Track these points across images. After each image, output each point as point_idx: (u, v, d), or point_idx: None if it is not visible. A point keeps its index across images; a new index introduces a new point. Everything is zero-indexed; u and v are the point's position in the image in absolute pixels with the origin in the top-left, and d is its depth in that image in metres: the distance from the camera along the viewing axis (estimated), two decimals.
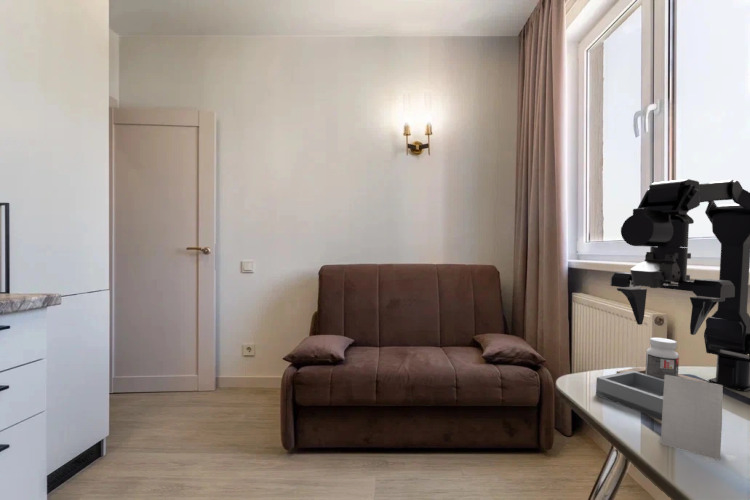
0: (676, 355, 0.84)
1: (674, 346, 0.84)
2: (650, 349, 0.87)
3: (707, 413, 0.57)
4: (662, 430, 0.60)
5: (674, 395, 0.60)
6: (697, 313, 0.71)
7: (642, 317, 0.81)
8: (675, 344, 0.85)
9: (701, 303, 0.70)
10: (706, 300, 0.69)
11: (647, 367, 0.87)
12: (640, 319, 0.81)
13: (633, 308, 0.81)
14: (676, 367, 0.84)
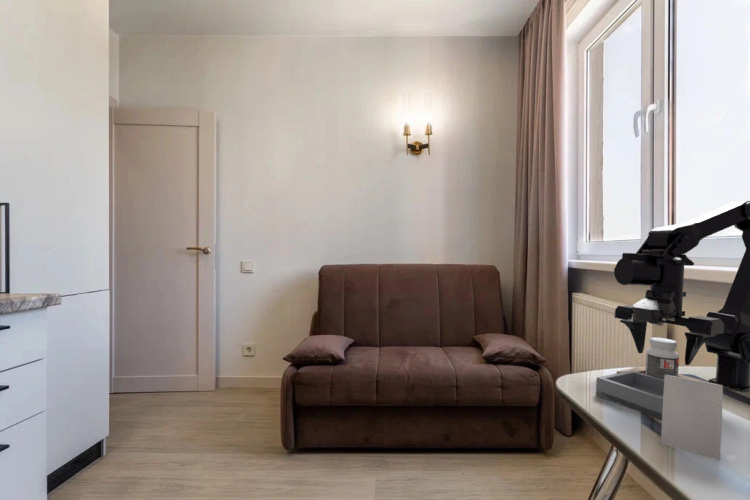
0: (676, 355, 0.84)
1: (674, 346, 0.84)
2: (650, 349, 0.87)
3: (707, 413, 0.57)
4: (662, 430, 0.60)
5: (674, 395, 0.60)
6: (691, 346, 0.81)
7: (643, 346, 0.91)
8: (675, 344, 0.85)
9: (694, 338, 0.80)
10: (698, 336, 0.78)
11: (647, 367, 0.87)
12: (641, 348, 0.90)
13: (634, 338, 0.91)
14: (676, 367, 0.84)
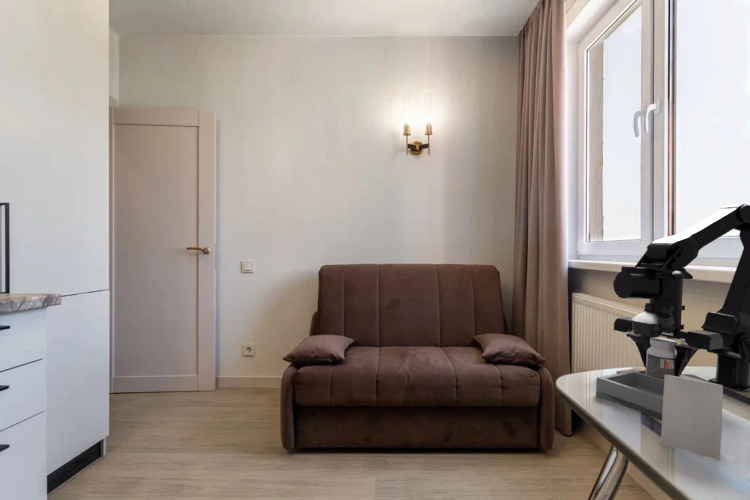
0: None
1: (674, 346, 0.84)
2: (650, 349, 0.87)
3: (707, 413, 0.57)
4: (662, 430, 0.60)
5: (674, 395, 0.60)
6: (681, 358, 0.82)
7: None
8: (675, 344, 0.85)
9: (684, 350, 0.81)
10: (688, 349, 0.80)
11: (647, 367, 0.87)
12: None
13: (641, 353, 0.89)
14: None
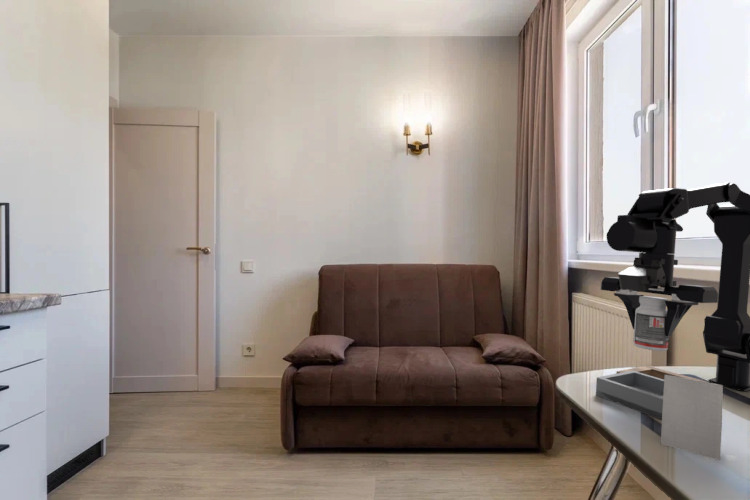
0: None
1: (665, 303, 0.77)
2: (639, 307, 0.80)
3: (707, 413, 0.57)
4: (662, 430, 0.60)
5: (674, 395, 0.60)
6: (671, 316, 0.75)
7: None
8: None
9: (675, 306, 0.74)
10: (679, 303, 0.73)
11: (635, 327, 0.80)
12: None
13: (629, 313, 0.82)
14: None
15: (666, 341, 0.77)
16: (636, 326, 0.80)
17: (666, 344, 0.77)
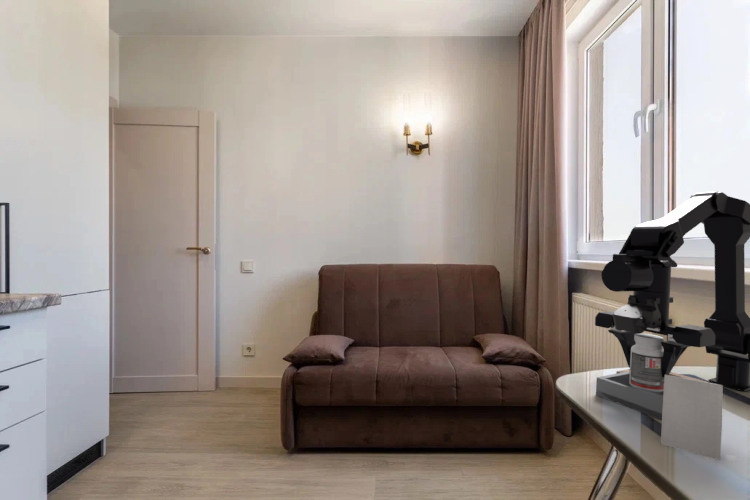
0: None
1: None
2: (634, 346, 0.78)
3: (707, 413, 0.57)
4: (662, 430, 0.60)
5: (674, 395, 0.60)
6: (668, 357, 0.73)
7: None
8: (662, 341, 0.75)
9: (671, 348, 0.72)
10: (676, 346, 0.70)
11: (631, 367, 0.78)
12: None
13: (624, 351, 0.80)
14: None
15: (663, 382, 0.75)
16: (632, 366, 0.77)
17: (663, 385, 0.75)
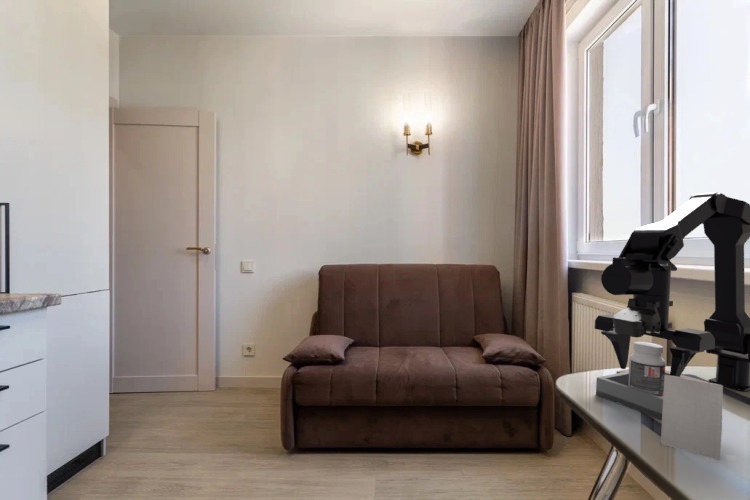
0: (662, 362, 0.75)
1: (660, 352, 0.75)
2: (633, 355, 0.78)
3: (707, 413, 0.57)
4: (662, 430, 0.60)
5: (674, 395, 0.60)
6: (677, 363, 0.72)
7: (626, 361, 0.81)
8: (661, 349, 0.75)
9: (680, 354, 0.70)
10: (685, 352, 0.69)
11: (630, 375, 0.78)
12: (623, 363, 0.81)
13: (617, 352, 0.81)
14: (662, 375, 0.75)
15: (662, 391, 0.75)
16: (631, 374, 0.77)
17: (662, 394, 0.75)
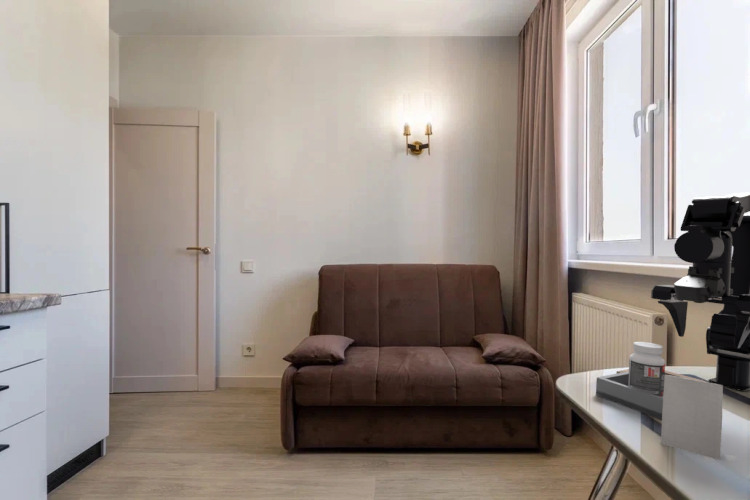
0: (662, 362, 0.75)
1: (660, 351, 0.75)
2: (633, 355, 0.78)
3: (707, 413, 0.57)
4: (662, 430, 0.60)
5: (674, 395, 0.60)
6: (742, 327, 0.73)
7: (683, 329, 0.83)
8: (661, 349, 0.75)
9: (746, 318, 0.71)
10: None
11: (630, 375, 0.78)
12: (682, 331, 0.82)
13: (674, 320, 0.83)
14: (662, 375, 0.75)
15: (661, 391, 0.75)
16: (631, 374, 0.77)
17: (662, 394, 0.75)
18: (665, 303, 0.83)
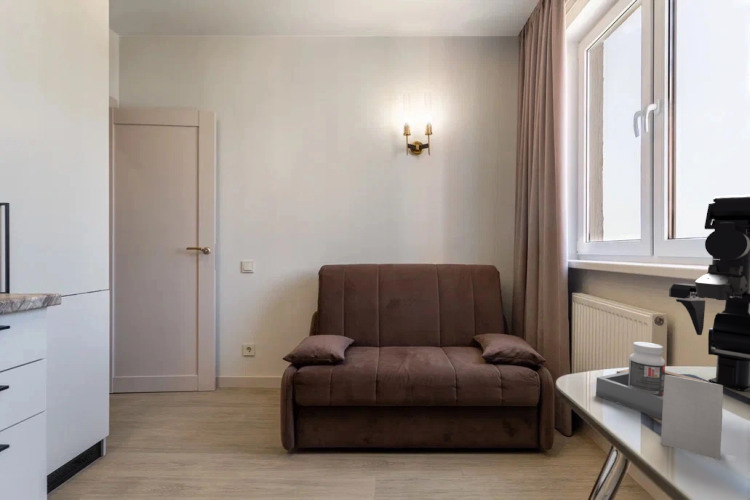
0: (662, 362, 0.75)
1: (660, 352, 0.75)
2: (633, 355, 0.78)
3: (707, 413, 0.57)
4: (662, 430, 0.60)
5: (674, 395, 0.60)
6: None
7: (702, 327, 0.83)
8: (661, 349, 0.75)
9: None
10: None
11: (630, 375, 0.78)
12: (700, 330, 0.83)
13: (693, 319, 0.83)
14: (662, 375, 0.75)
15: (661, 391, 0.75)
16: (631, 374, 0.77)
17: (662, 394, 0.75)
18: (684, 301, 0.83)
